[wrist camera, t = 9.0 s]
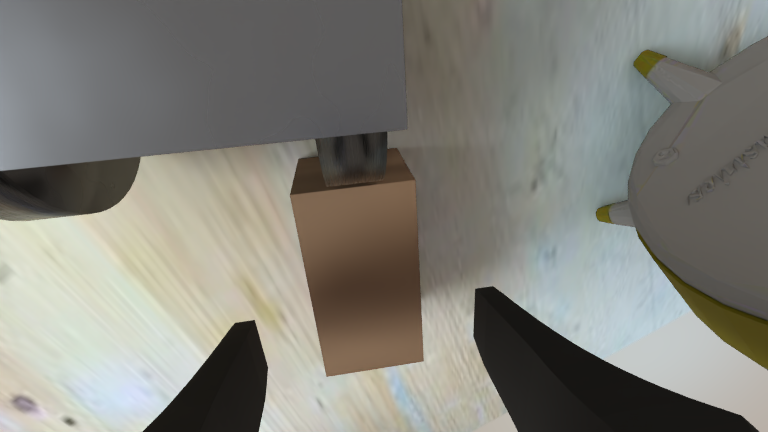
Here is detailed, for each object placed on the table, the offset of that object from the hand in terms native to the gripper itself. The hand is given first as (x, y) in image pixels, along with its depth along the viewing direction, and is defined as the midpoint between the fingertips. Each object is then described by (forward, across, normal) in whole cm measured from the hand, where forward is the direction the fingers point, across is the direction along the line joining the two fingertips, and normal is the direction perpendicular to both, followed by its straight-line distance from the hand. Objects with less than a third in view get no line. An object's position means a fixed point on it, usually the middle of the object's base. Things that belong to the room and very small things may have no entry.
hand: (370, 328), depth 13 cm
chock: (+6, 0, 0) cm, 6 cm away
